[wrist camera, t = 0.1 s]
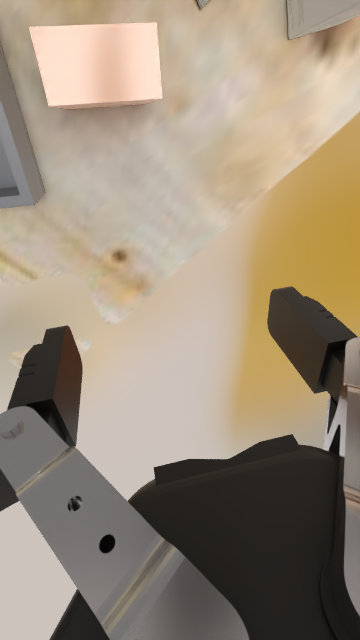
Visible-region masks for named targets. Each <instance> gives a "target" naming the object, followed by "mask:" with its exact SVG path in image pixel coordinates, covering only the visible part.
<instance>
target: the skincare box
mask: <svg viewBox="0 0 360 640" xmlns="http://www.w3.org/2000/svg"><path fill="white" fill-rule="evenodd" d="M287 12H288V38H289V40H291V39H295V38H298V37H301V36H305V35H308V34H311V33H314V32H317V31H321V30H324V29H327V28H330V27H333V26H336V25H339V24H342V23H344V22H346V21H348V20H350V19H352V18H355V17H357V16H359V15H360V0H287Z"/></svg>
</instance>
